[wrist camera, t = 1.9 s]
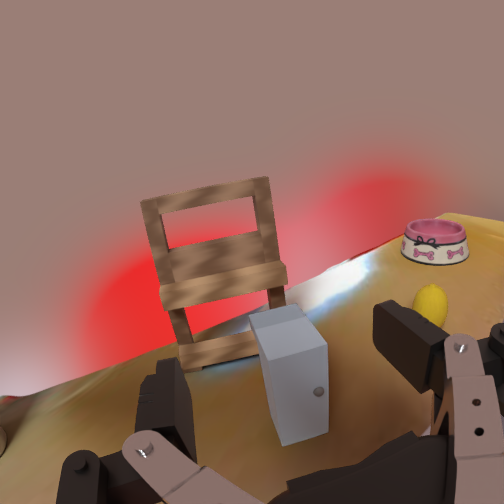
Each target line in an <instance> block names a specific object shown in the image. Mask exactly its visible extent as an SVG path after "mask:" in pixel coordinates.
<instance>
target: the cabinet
mask: <svg viewBox="0 0 504 504" xmlns="http://www.w3.org/2000/svg"><path fill="white" fill-rule="evenodd" d="M249 320H250V325H251V329H252V331H253V334H254V336H255V339H256V341H257V345H258V350H259V356H260V361H261V366H262V372H263V377H264V383H265V388H266V393H267V399H268V404H269V409H270V414H271V417H272V420H273V423H274V425H275V428H276V431H277V433H278V436H279V439H280V441H281V444H282V447H283V446H287V445H290V444H293V443H297V442H300V441H303V440H307V439H310V438H313V437H316V436H319V435H322V434H325V433H327V432H328V429H329V380H328V344H327V343H326V341H325V340H324V339H323V337H322V336H321V335H320V333H319V332H318V331H317V330H316V328H315V327H314V326H313V324H312V323H311V322H310V320H309V319H308V318H307V317H306V315H305V314H304V313H303V311H302V310H301V309H300V308H299V306H298V305H297V304H296V303H295V304H291V305H287V306H283V307H279V308H275V309H271V310H267V311H262V312H258V313H254V314H250V315H249Z"/></svg>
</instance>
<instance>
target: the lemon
mask: <svg viewBox="0 0 504 504" xmlns="http://www.w3.org/2000/svg"><path fill="white" fill-rule="evenodd" d="M412 310H415V311H417V312H418V313H420V314H421V315H422V316H423V317H425V318H427V319H428V320H429V322H432V323H434V324H435V325H437V326H438V327H439V328H440V327H441V326H442V325H443V323H444V322H445V319H446V317H447V313H448V299H447V295H446V293H445V291H444V290H443V289H442V288H441V287H439V286H437V285H435V284H434V283H431V284H430V285H426V286H424V287H422V288H421V289H420V290H419V291H418V293H417V294H416V296H415V299H414V302H413V307H412Z"/></svg>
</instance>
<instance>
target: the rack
mask: <svg viewBox="0 0 504 504" xmlns="http://www.w3.org/2000/svg"><path fill="white" fill-rule="evenodd" d="M249 196H252V197H253V203H254V210H255V216H256V222H257V229H258V231H254V232H249V233H244V234H239V235H234V236H230V237H224V238H219V239H215V240H210V241H205V242H200V243H195V244H191V245H186V246H181V247H177V248H172V249H169V247H168V243H167V239H166V234H165V230H164V225H163V221H162V216H161V214H164V213H168V212H173V211H178V210H182V209H187V208H192V207H197V206H202V205H206V204H212V203H217V202H222V201H227V200H232V199H237V198H243V197H249ZM140 203H141V208H142V213H143V218H144V221H145V226H146V231H147V235H148V239H149V243H150V247H151V251H152V255H153V259H154V263H155V267H156V270H157V274H158V278H159V282H160V285H161V286H160V292H159V295H160V298H161V302H162V305H163V308H164V311H168V313H169V316H170V319H171V323H172V326H173V329H174V332H175V335H176V338H177V342H178V345H179V358H180V366H181V369H182V372H183V373H188V372H194V371H199V370H203V369H202V366H206V365H211V364H216V363H220V362H225V361H230V360H234V359H238V358H243V357H247V356H251V355H255V354H259V350H258V345H257V341H256V339H255V336H254V334H253V331H252V330H251V331H247V332H243V333H238V334H234V335H229V336H225V337H220V338H216V339H211V340H206V341H201V342H196V343H194V341H193V338H192V334H191V331H190V327H189V324H188V320H187V317H186V314H185V310H184V307H187V306H193V305H198V304H202V303H206V302H211V301H216V300H221V299H225V298H230V297H234V296H239V295H243V294H248V293H252V292H257V291H261V290H265V289H267V294H268V301H269V307H270V310H271V309H275V308H279V307H283V306H286V302H285V294H284V286H283V285H286V284H288V280H287V272H286V266H285V265H284V264H283V263H282V262H281V260H280V256H279V248H278V240H277V233H276V226H275V219H274V212H273V205H272V198H271V191H270V184H269V178H268V177H266V176H263V177H257V178H251V179H245V180H240V181H234V182H228V183H223V184H218V185H212V186H207V187H202V188H197V189H192V190H187V191H182V192H178V193H173V194H168V195H164V196H159V197H155V198H151V199H146V200H142V201H141V202H140Z"/></svg>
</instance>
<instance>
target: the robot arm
mask: <svg viewBox="0 0 504 504" xmlns="http://www.w3.org/2000/svg"><path fill="white" fill-rule="evenodd" d="M373 342H374V345H375V347H376V349H377V350H378V351H379V352H380V353H381V354H382V355H383V356H384V357H385V358H386V359H387V360H388V361H389V362H390V363H391V364H392V365H393V366H394V367H395V368H396V369H397V370H398V371H399V372H400V373H401V374H402V375H403V376H404V377H405V378H406V379H407V380H408V381H409V383H410V384H411V385H412V386H413V387H414V388H415V389H416V390H417V391H418V392H419V393H420V394H422V393H424V392H426V391H428V390H429V389H432V390H433V394H432V412H431V431H430V435H427V436H421V437H417V436H416V435H415V434H414V433H413V431H410V432H408V433H406V434H404V435H402V436H400V437H398V438H396V439H394V440H392V441H390V442H388V443H386V444H384V445H383V446H382V447H380V448H379V449H378V450H377V451H375V452H374V453H373V454H371V455H370V456H369V457H367V458H366V459H364V460H363V461H362V462H360V463H358V464H356V465H351V466H346V467H340V468H334V469H327V470H320V471H317V472H314V473H311V474H308V475H305V476H302V477H299V478H295V479H292V480H289V481H286V482H287V487H288V490H286V491H284V492H283V493H281V494H279V495H278V496H276V497H275V498H273V499H272V500H271V501H270V502H269V503H268V504H504V438H503V430H502V422H501V415H502V416H503V417H504V323H498V324H495V325H494V326H493V327H492V328H491V332H490V336H489V337H488V338H484V339H480V340H477V341H476V340H475V339H474V338H473V337H471V336H469V335H466V334H453V335H451V336H450V335H449V334H448V333H446V332H445V331H444V330H442V329H441V328H439V327H438V326H437V325H435V324H434V323H432V322H429V320H428V319H427V318H425V317H423V316H422V315H421V314H420V313H418V312H417V311H415V310H412V309H409V308H406V307H402V306H400V305H399V304H398V303H396V302H395V301H393V300H388V301H385V302H382V303H379V304H376V305H375V306H374V308H373ZM139 395H140V396H139V401H138V403H139V404H138V408H137V415H136V423H135V432H134V434H132V435H131V436H129V437H128V438H127V439H126V441H125V442H124V444H123V447H122V450H121V451H119V452H116V453H113V454H110V455H107V456H104V457H101V458H99V457H98V456H97V455H96V454H95V453H93V452H92V451H89V450H79V451H76V452H74V453H72V454H70V455H69V456H68V457H67V458H66V459H65V461H64V463H63V466H62V471H61V476H60V481H59V487H58V493H57V499H56V504H156V503H158V502H161V501H162V502H163V503H164V504H265V503H263V502H261V501H259V500H258V499H256V498H254V497H253V496H251V495H250V494H248V493H246V492H245V491H243V490H242V489H240V488H239V487H237V486H236V485H234V484H232V483H231V482H229V481H228V480H227V479H225V478H224V477H222V476H221V475H219V474H218V473H216V472H215V471H214V470H212V469H211V468H209V467H207V466H203V467H200V466H198V465H197V457H196V446H195V435H194V423H193V410H192V399H191V394H190V390H189V387H188V385H187V382H186V379H185V377H184V374H183V372H182V369H181V366H180V363H179V361H178V359H177V357H174V358H169V359H163V360H158V361H157V366H156V374H153V375H147V377H146V378H145V379H144V381H143V382H142V384H141V387H140V394H139ZM500 414H501V415H500ZM6 441H7V437H6V433H5V431H4V430H3V429H2V427H1V426H0V455H1V454H2V453H3V451H4V449H5V446H6Z"/></svg>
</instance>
